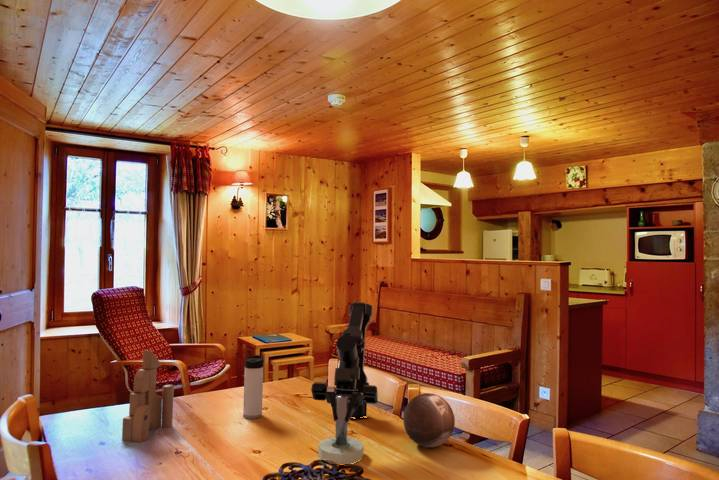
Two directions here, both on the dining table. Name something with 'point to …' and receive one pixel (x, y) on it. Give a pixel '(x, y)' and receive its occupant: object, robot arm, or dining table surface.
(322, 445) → the grey ring
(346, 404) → the metal peg
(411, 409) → the wooden sphere
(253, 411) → the travel mug
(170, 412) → the wooden toy
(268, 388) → the dining table surface
